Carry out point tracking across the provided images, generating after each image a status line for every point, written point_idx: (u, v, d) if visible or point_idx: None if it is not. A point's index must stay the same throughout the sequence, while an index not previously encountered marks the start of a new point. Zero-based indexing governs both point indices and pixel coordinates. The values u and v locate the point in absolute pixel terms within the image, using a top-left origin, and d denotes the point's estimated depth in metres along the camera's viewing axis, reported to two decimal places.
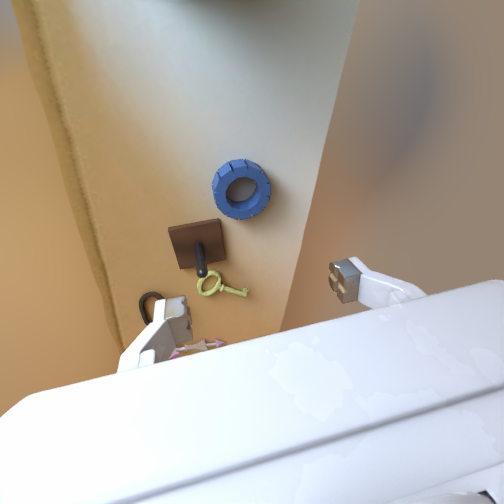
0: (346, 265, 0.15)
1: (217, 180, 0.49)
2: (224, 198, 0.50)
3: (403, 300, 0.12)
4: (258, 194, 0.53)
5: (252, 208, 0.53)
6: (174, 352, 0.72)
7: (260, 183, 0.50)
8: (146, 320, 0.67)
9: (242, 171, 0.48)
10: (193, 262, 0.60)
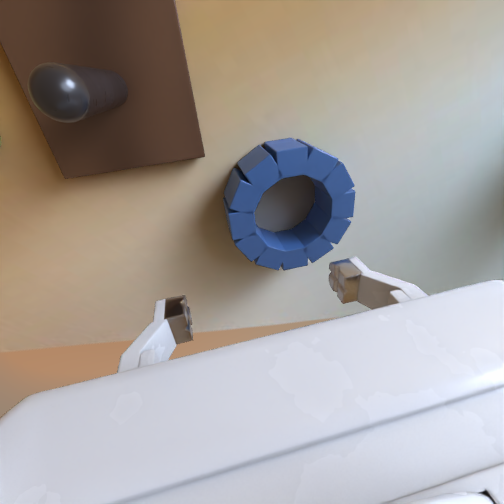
0: (346, 265, 0.15)
1: None
2: (290, 172, 0.20)
3: (403, 300, 0.12)
4: (279, 244, 0.25)
5: (258, 239, 0.23)
6: None
7: (312, 247, 0.24)
8: None
9: (344, 209, 0.23)
10: (29, 59, 0.16)
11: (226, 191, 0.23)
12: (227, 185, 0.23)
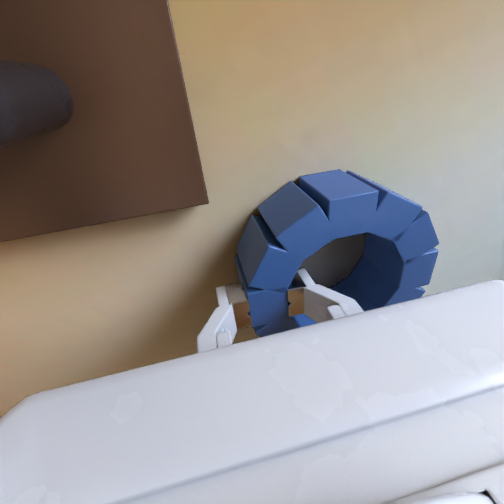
0: None
1: (405, 198, 0.13)
2: (347, 231, 0.13)
3: (338, 316, 0.12)
4: None
5: (290, 323, 0.15)
6: None
7: None
8: None
9: (418, 275, 0.15)
10: None
11: (241, 250, 0.15)
12: (242, 240, 0.15)
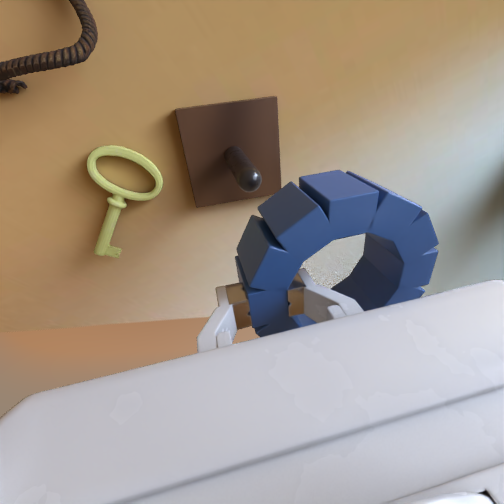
0: None
1: (405, 198, 0.13)
2: (348, 231, 0.13)
3: (338, 316, 0.12)
4: None
5: (290, 324, 0.15)
6: None
7: None
8: None
9: (418, 275, 0.15)
10: (193, 142, 0.28)
11: (241, 250, 0.15)
12: (242, 240, 0.15)
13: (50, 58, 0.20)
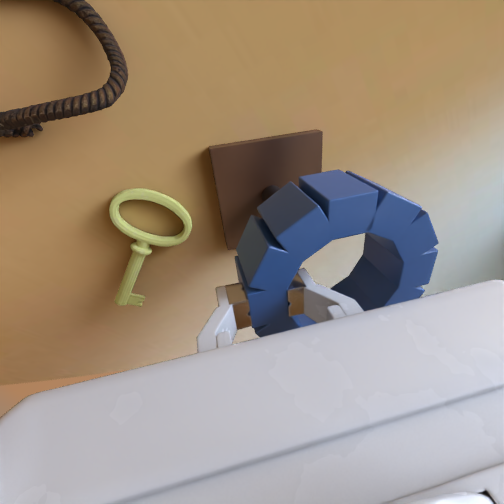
0: None
1: (405, 198, 0.13)
2: (347, 231, 0.13)
3: (338, 316, 0.12)
4: None
5: (290, 323, 0.15)
6: None
7: None
8: None
9: (418, 275, 0.15)
10: (228, 183, 0.25)
11: (241, 250, 0.15)
12: (242, 240, 0.15)
13: (75, 105, 0.17)
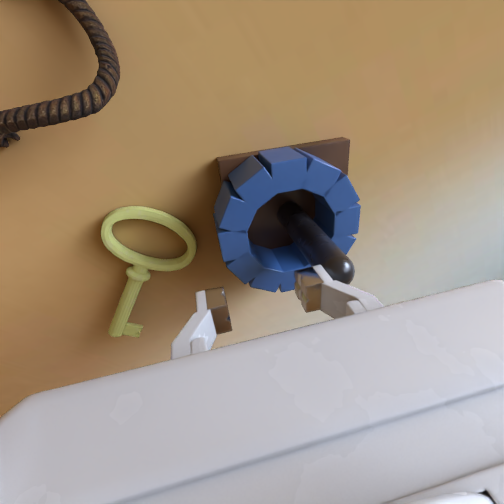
0: (309, 273, 0.15)
1: (330, 165, 0.19)
2: (287, 187, 0.18)
3: (358, 311, 0.12)
4: (276, 263, 0.22)
5: (252, 260, 0.20)
6: None
7: None
8: None
9: (348, 225, 0.21)
10: None
11: (216, 207, 0.21)
12: (217, 200, 0.21)
13: (52, 111, 0.13)
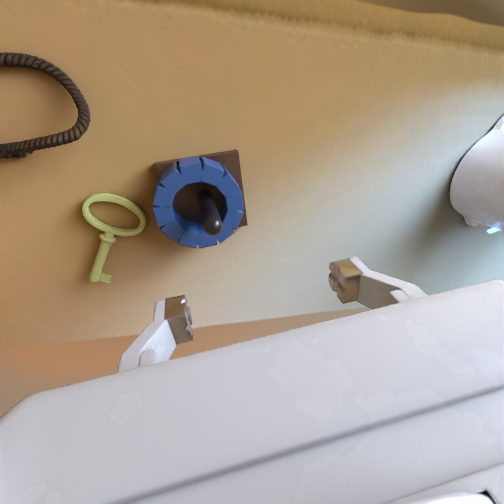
0: (346, 265, 0.15)
1: (219, 167, 0.32)
2: (192, 180, 0.31)
3: (403, 300, 0.12)
4: (196, 230, 0.35)
5: (176, 225, 0.33)
6: None
7: None
8: None
9: (235, 204, 0.34)
10: None
11: (154, 193, 0.33)
12: (155, 189, 0.34)
13: (53, 140, 0.26)
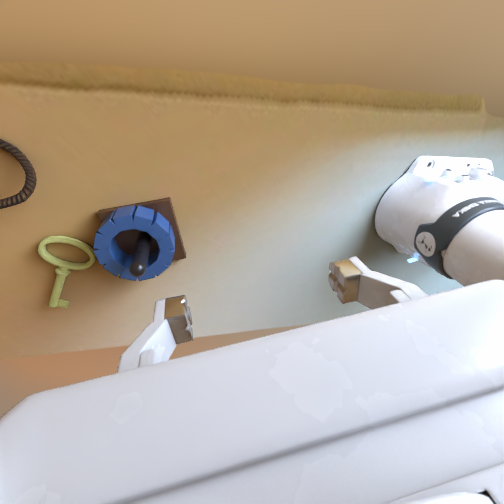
0: (346, 265, 0.15)
1: (148, 216, 0.38)
2: (125, 228, 0.37)
3: (403, 300, 0.12)
4: None
5: (116, 263, 0.39)
6: None
7: (153, 267, 0.41)
8: None
9: (166, 245, 0.40)
10: None
11: None
12: None
13: (3, 203, 0.32)
